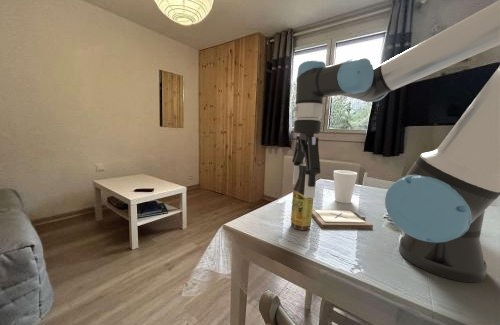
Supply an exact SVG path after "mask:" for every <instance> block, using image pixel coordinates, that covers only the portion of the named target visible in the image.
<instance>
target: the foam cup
mask: <svg viewBox="0 0 500 325" xmlns="http://www.w3.org/2000/svg"><path fill="white" fill-rule="evenodd" d="M332 176H333V186H334V200H335V202H337V203H341V204H349V203H351V202H352V199H353V198H352V197H353V195H354V190H355V186H356V182H357V179H358V172H356V171H351V170H343V169H342V170H341V169H340V170H339V169H337V170H333V174H332Z"/></svg>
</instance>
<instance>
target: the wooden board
mask: <svg viewBox="0 0 500 325" xmlns="http://www.w3.org/2000/svg"><path fill="white" fill-rule="evenodd" d="M366 218H367V217H366V216H365V215H364V214H362V213H361V212H359V211H358V210H357V211H354V210H352V209H314V208H313V210H312V219H314V221H315V222H317V224H318V225H319V226H320V228H321V229H351V230H352V229H355V230H356V229H358V230H359V229H361V230H362V229H363V230H364V229H367V230H369V229H370V230H373V228H374V225H373V224H372V223H371V222H369V221H368V220H366Z"/></svg>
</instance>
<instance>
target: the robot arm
mask: <svg viewBox="0 0 500 325" xmlns="http://www.w3.org/2000/svg"><path fill="white" fill-rule="evenodd" d="M498 46H500V0H498V1H495V2H493V3H491V4H490V5H487V6H486V7H484V8H482V9H481V10H479V11H477V12H475V13H473V14H471V15H469V16H468V17H466V18H464V19H462V20H461V21H459V22H456V23H455V24H454V25H451V26H449V27H447V28H446V29H444V30H441V31H440V32H438V33H436V34H434V35H433V36H431V37H428V38H427V39H425V40H424V41H422V42H420V43H418V44H417V45H414V46H413V47H410V48H409V49H407V50H405V51H403V52H402V53H400V54H397V55H395V56H394V57H392V58H390V59H389V60H386V61H385V62H383V63H381V64H379V65H378V66H375V67H374V66H373V64H372V63H371V61H370V60H369V59H368V58H366V57H361V58H355V59H354V58H352V59H349V60H346V61H344V62H339V63H336V64H335V63H334V64H331V65H328V66H326V65H327V64H326V63H325V62H324V61H322V60H307V61H303V62H302V63H300V64H299V65H298V70H297V76H296V92H295V94H296V95H295V96H296V97H295V107H293V109H292V110H293V111H294V118H295V119H296V120H294V122H293V132H294V134H299V135H296V137H295V138H296V139H295V140H296V141H295V145H294V150H293V156H292V163H293V174H292V176H293V177H292V186H295V185H296V182H297V180H298V177H299V165H300V164H304V162H303V161H305V164H306V168H307V171H306V172H305V174H306V177H305V190H304V197H305V198H314V199H315V195H316V188H317V187H316V184H317V175H319V174H321V164H320V163H321V161H320V153H319V152H320V150H319V137H318V136H315V135H317V134H320V133H321V127H322V121H321V119H322V116H323V108H324V107H323V106H324V105H323V104H324V103H323V102H324V98H328V97H335V96H336V97H337V96H343V97H347V98H351V99H355V100H359V101H363V102H366V103H371V102H373V103H374V102H379V101H381V100H383V99H384V98H385V97H386V96H387V95H388V94H389V93H390V92H392V91H395V90H397V89H399V88H402V87H404V86H406V85H409V84H410V83H413V82H415V81H418V80H420V79H422V78H424V77H427V76H429V75H432V74H434V73H437V72H438V71H441V70H444V69H445V68H448V67H451V66H454V65H455V64H458V63H460V62H462V61H465V60H467V59H470V58H471V57H474V56H476V55H478V54H481V53H483V52H486V51H488V50H490V49H492V48H494V47H498ZM385 193H386V194H385V197H384V205H385V209H386V212H387V215H388V216H389V219H390V220H391V221H392V222H393V224H394V225H395V226H396V227H397V228H398V229H400V231H401V232H403V233H404V235H403V236H402V237H401V238H400V240H399V245H398V251H399V254H400V255H401V256H402V257H403V258H404V259H405V260H407V261H408V262H410V264H412V265H415V266H416V267H417V268H419V269H421V270H423V271H427V272H428V273H430V274H433V275H435V276H438V277H442V278H446V279H449V280H453V281H457V282H464V283H478V282H479V283H480V282H483V281H485V279H486V276H487V270H488V265H487V263H486V260H485V258H484V253H483V249H482V243H481V232H482V228H483V222H484V216H485V212H486V211H485V210H487V209H488V208H489V207H490V206H491V204H492V203H494V202H495V201H496V200H497V198H499V197H500V65H499V66H498V68H497V69H496V70H495V72H493V74H492V75H491V76H490V78H489V79H488V81H487V82H486V83H485V84H484V86H483V87H482V89H481V90H480V91H479V92H478V94H477V95H476V97H475V98H474V99H473V101H472V102H471V104H469V106H468V107H467V108H466V110H465V111H464V112H463V113H462V115H461V117H460V118H459V119H458V120H457V122H455V124H454V125H453V128H452V129H450V131H449V132H448V133H447V135H446V137H445V138H444V139H443V140H442V142H441V143H440V145H438V147H437V148H436V149H434V150H430V151H426V152H422V153H420V155H419V156H418V157H417V159H416V161H415V162H414V163H413V164H412V166H411V167H410V169H409V170H408V171H407V173H406V174H405V175H404V176H403V177H401V178H399V179H397V180H396V181H395V182H393V183H392V184H391V185H390V187H388V189H387V191H386V192H385Z"/></svg>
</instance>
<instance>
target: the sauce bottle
mask: <svg viewBox="0 0 500 325" xmlns="http://www.w3.org/2000/svg"><path fill="white" fill-rule="evenodd" d="M306 171H307V168H306V163H303V164H300V165H299V177H298V180H297V182H296V185H294V188H293V192H292V201H291V212H290V213H291V214H290V224H291V227H292V228H293V229H296V230H297V231H308V230H310V228H311V225H312V219H313V216H312V210H313V209H314V199H315V198H305V197H304V190H305V177H306V174H305V172H306Z"/></svg>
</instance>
